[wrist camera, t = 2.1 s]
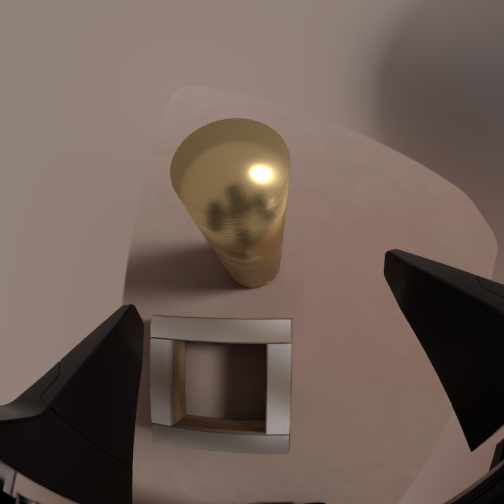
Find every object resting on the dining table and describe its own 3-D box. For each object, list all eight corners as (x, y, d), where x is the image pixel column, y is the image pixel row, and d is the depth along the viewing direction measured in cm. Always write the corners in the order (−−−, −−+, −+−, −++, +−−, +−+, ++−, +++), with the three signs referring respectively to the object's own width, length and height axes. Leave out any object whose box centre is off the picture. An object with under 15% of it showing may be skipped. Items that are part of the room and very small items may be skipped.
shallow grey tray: (287, 438, 16) (289, 454, 13) (167, 429, 17) (151, 441, 14) (289, 320, 19) (292, 317, 16) (166, 317, 20) (149, 314, 17)
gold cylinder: (280, 287, 20) (293, 213, 8) (226, 287, 20) (162, 217, 8) (279, 235, 21) (286, 116, 9) (228, 236, 21) (179, 123, 9)
